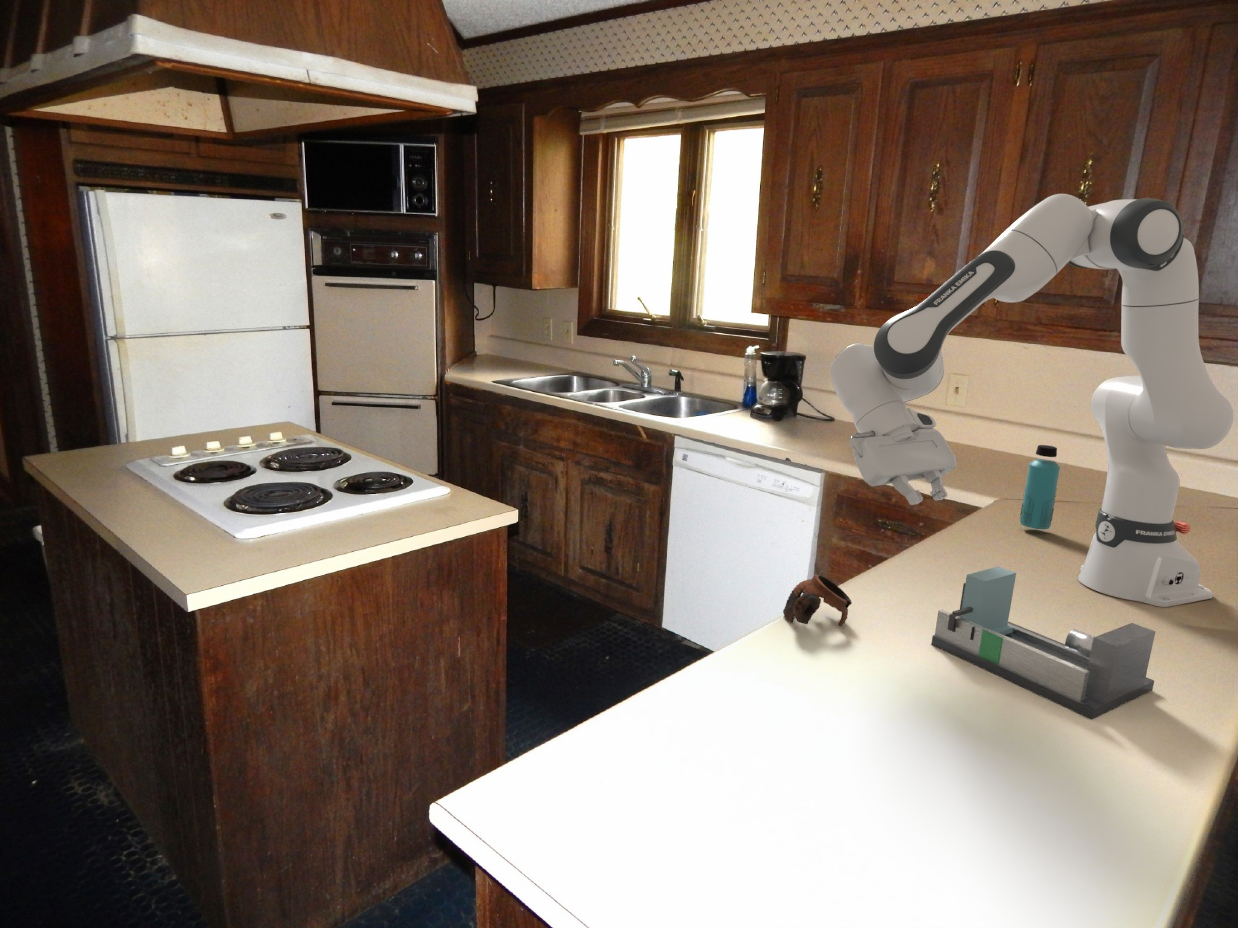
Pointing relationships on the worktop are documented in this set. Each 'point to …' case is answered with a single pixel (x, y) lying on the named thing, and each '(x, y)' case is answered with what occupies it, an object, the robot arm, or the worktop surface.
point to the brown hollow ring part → (815, 599)
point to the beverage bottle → (1040, 490)
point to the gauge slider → (987, 599)
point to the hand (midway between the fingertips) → (929, 500)
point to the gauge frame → (1058, 662)
